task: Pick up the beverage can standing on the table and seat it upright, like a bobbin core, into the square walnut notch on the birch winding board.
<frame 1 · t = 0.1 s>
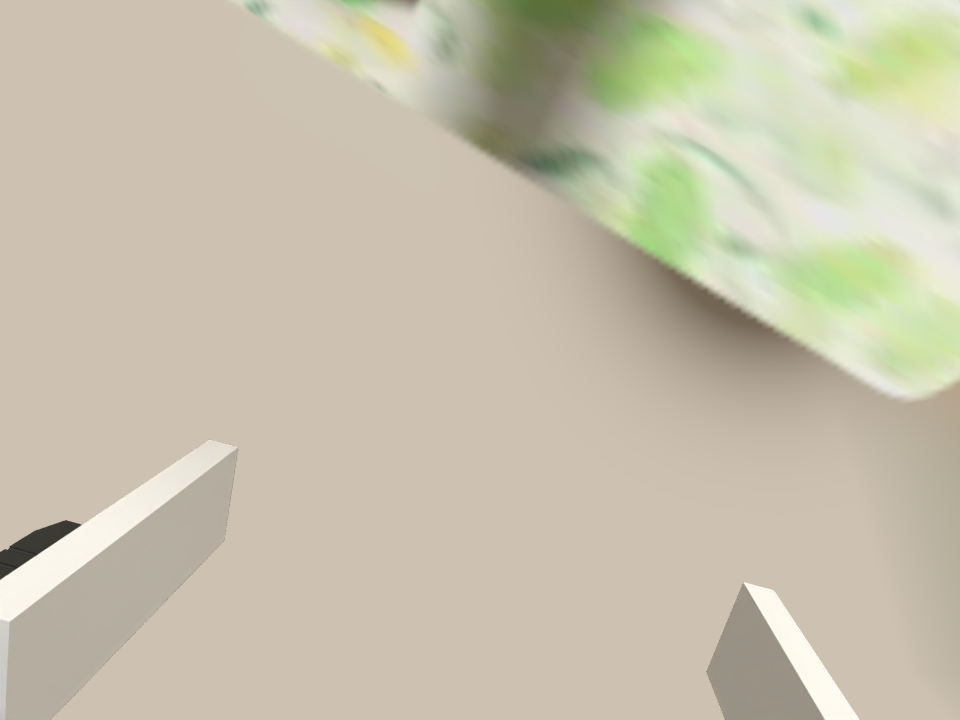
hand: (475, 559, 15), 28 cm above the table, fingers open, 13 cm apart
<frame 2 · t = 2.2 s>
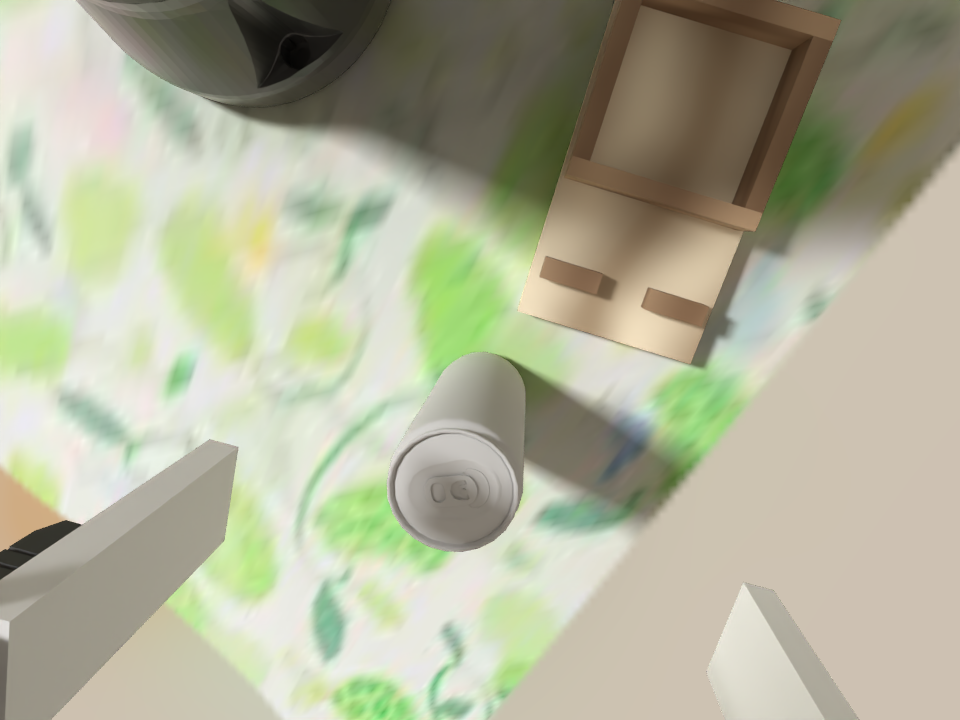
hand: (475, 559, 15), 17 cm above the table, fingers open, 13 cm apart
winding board: (655, 178, 28), on the table
beverage can: (481, 391, 31), on the table
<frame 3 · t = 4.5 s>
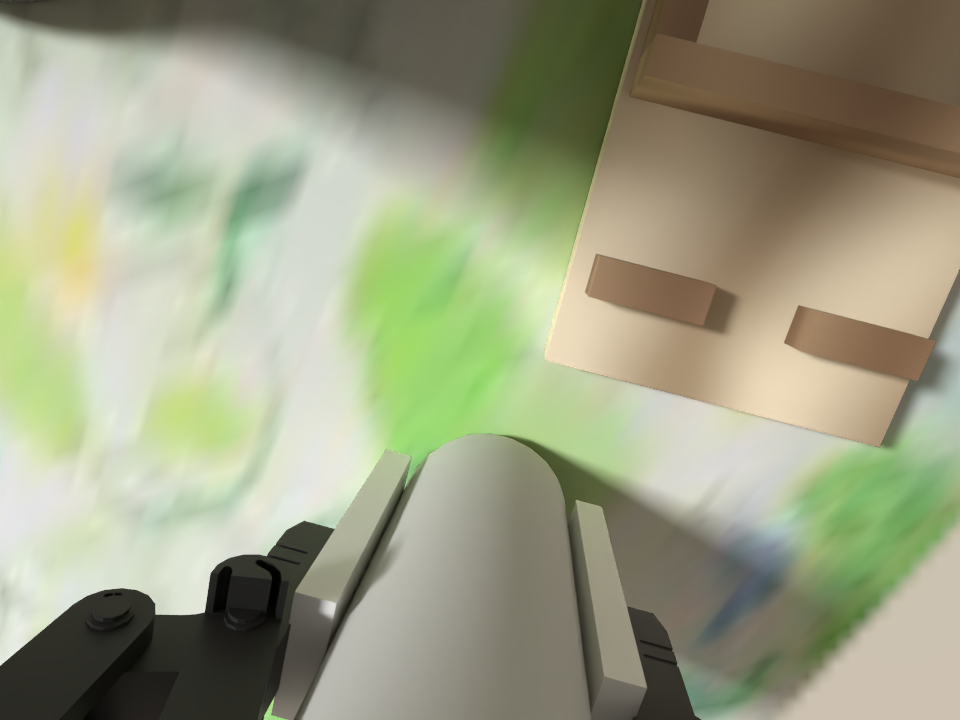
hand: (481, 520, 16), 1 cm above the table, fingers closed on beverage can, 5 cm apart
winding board: (804, 93, 14), on the table
beverage can: (485, 497, 18), on the table, touching gripper
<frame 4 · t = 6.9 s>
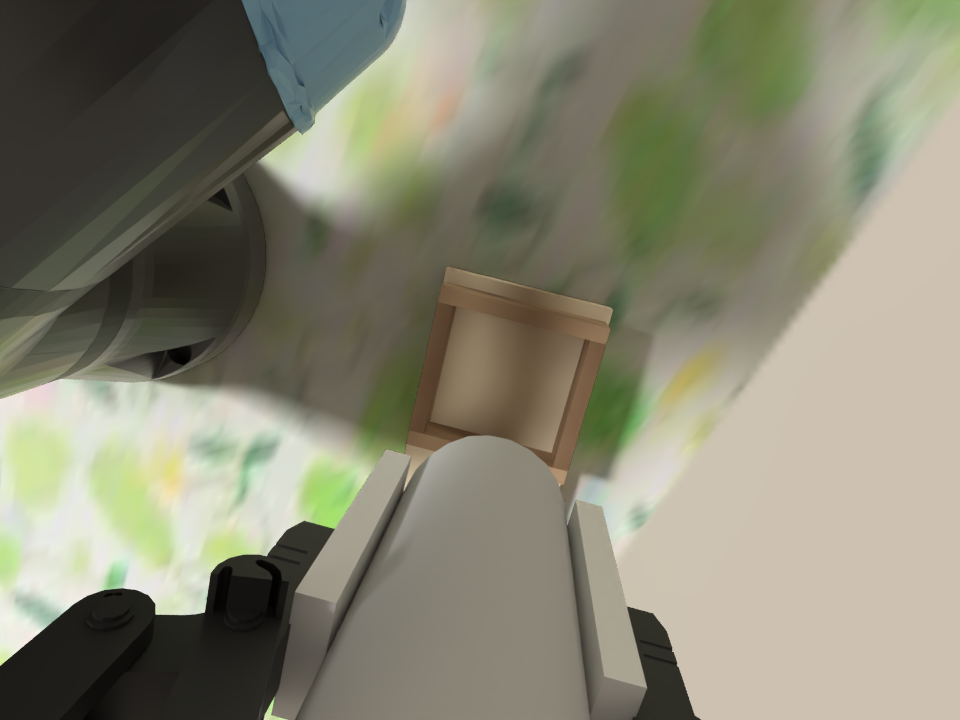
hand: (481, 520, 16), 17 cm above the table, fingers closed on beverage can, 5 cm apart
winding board: (493, 421, 33), on the table
beverage can: (485, 498, 18), point 15 cm above the table, touching gripper
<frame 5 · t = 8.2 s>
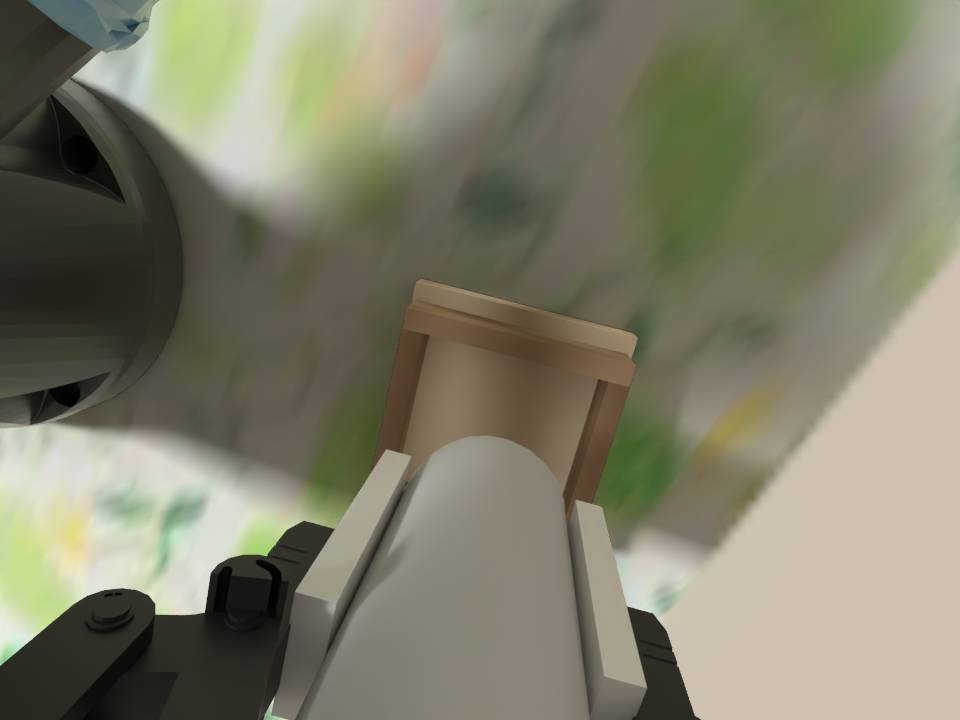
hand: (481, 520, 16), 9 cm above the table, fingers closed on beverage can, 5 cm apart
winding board: (480, 477, 26), on the table
beverage can: (485, 499, 18), point 7 cm above the table, touching gripper
when the fingers open (4 cm above the table, at t = 9.4 s): beverage can drops 2 cm, resting on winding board.
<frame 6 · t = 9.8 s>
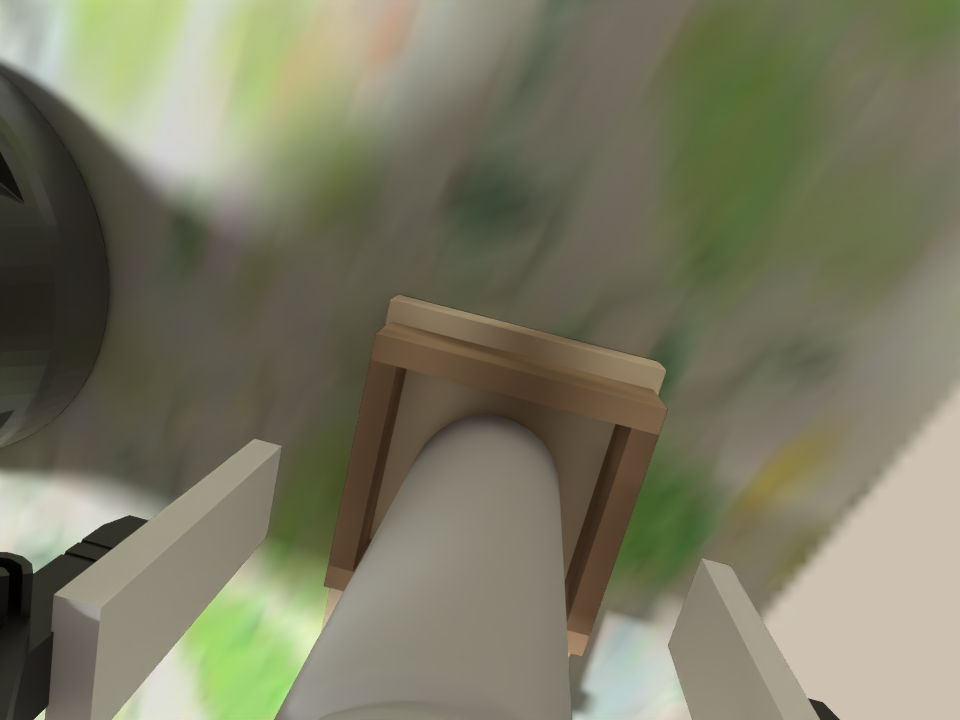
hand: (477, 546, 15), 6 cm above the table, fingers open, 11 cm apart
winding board: (471, 534, 21), on the table
beverage can: (487, 473, 20), point 1 cm above the table, touching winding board
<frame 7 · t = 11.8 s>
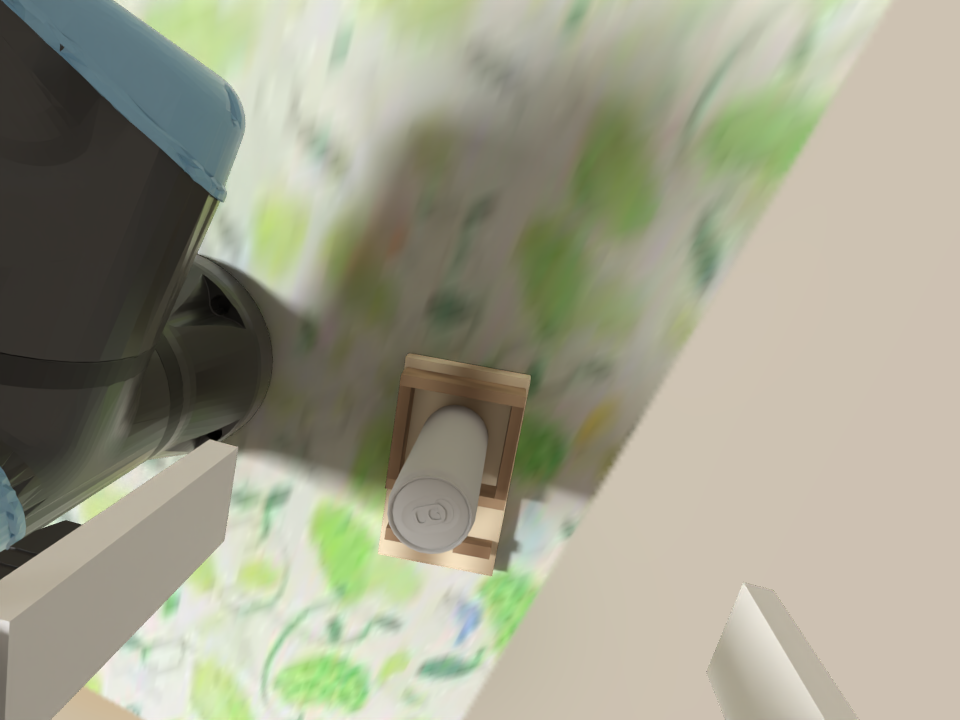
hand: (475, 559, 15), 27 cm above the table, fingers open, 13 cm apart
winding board: (452, 464, 44), on the table
beverage can: (456, 432, 42), point 1 cm above the table, touching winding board
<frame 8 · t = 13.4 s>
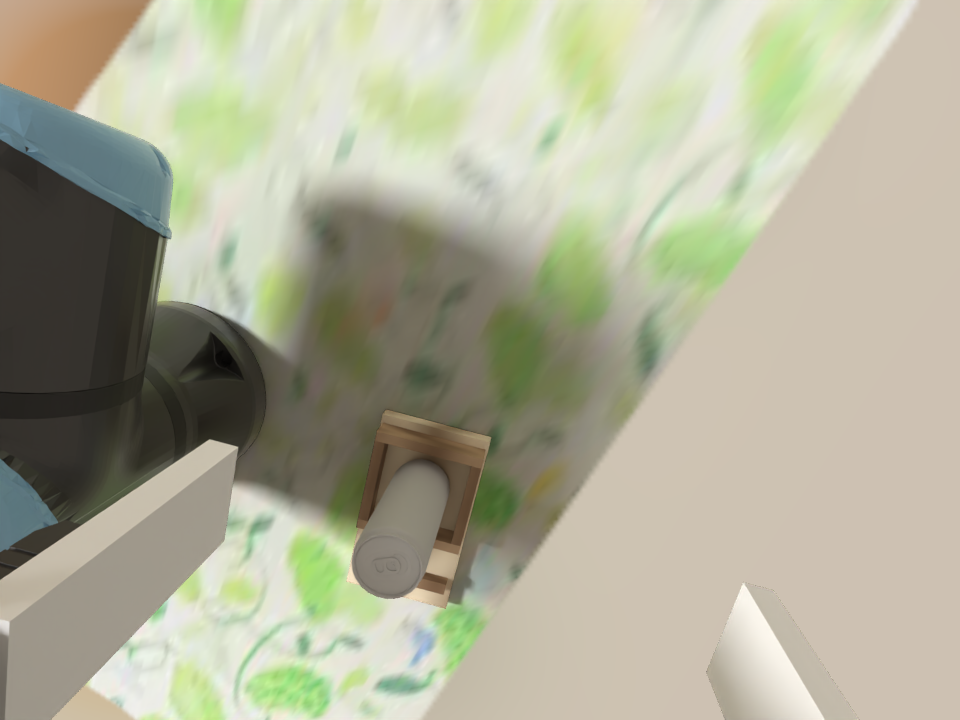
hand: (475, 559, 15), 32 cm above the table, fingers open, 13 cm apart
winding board: (417, 508, 50), on the table
beverage can: (422, 482, 48), point 1 cm above the table, touching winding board
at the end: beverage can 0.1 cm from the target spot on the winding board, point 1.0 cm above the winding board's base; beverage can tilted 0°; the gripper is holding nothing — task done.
